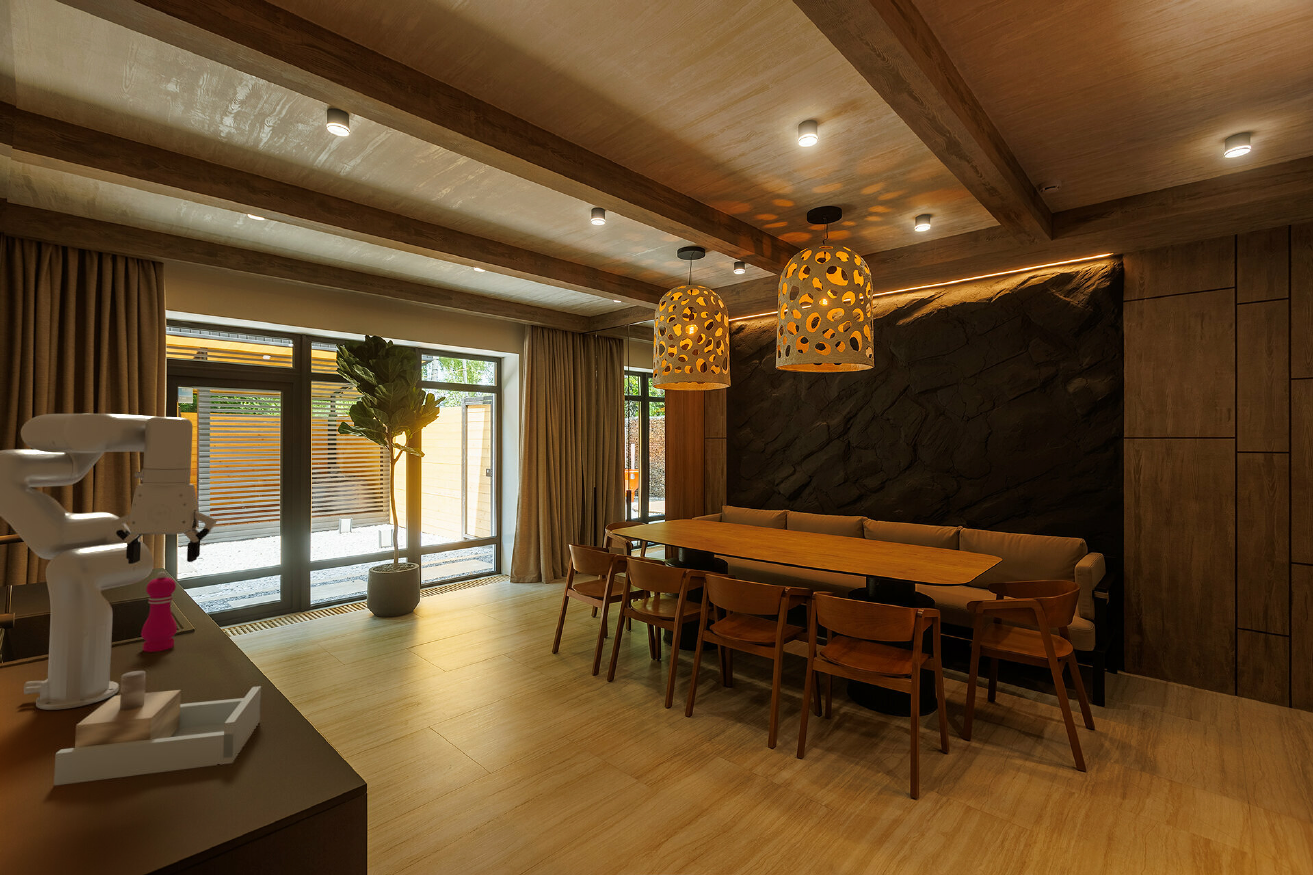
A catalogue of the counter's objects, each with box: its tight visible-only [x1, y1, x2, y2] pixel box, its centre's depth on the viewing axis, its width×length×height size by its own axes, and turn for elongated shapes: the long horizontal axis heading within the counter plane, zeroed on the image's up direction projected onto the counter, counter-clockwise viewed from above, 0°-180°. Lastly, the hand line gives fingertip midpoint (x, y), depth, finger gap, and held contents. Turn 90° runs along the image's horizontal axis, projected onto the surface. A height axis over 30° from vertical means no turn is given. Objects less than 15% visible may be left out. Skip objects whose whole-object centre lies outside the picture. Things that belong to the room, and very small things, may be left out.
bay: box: [53, 685, 262, 786], centre depth 106 cm, size 24×16×7 cm, turn 110°
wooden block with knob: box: [74, 670, 182, 748], centre depth 105 cm, size 10×12×13 cm
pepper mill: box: [140, 571, 178, 653], centre depth 157 cm, size 7×7×20 cm
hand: (163, 561), depth 121 cm, fingers open, 9 cm apart
